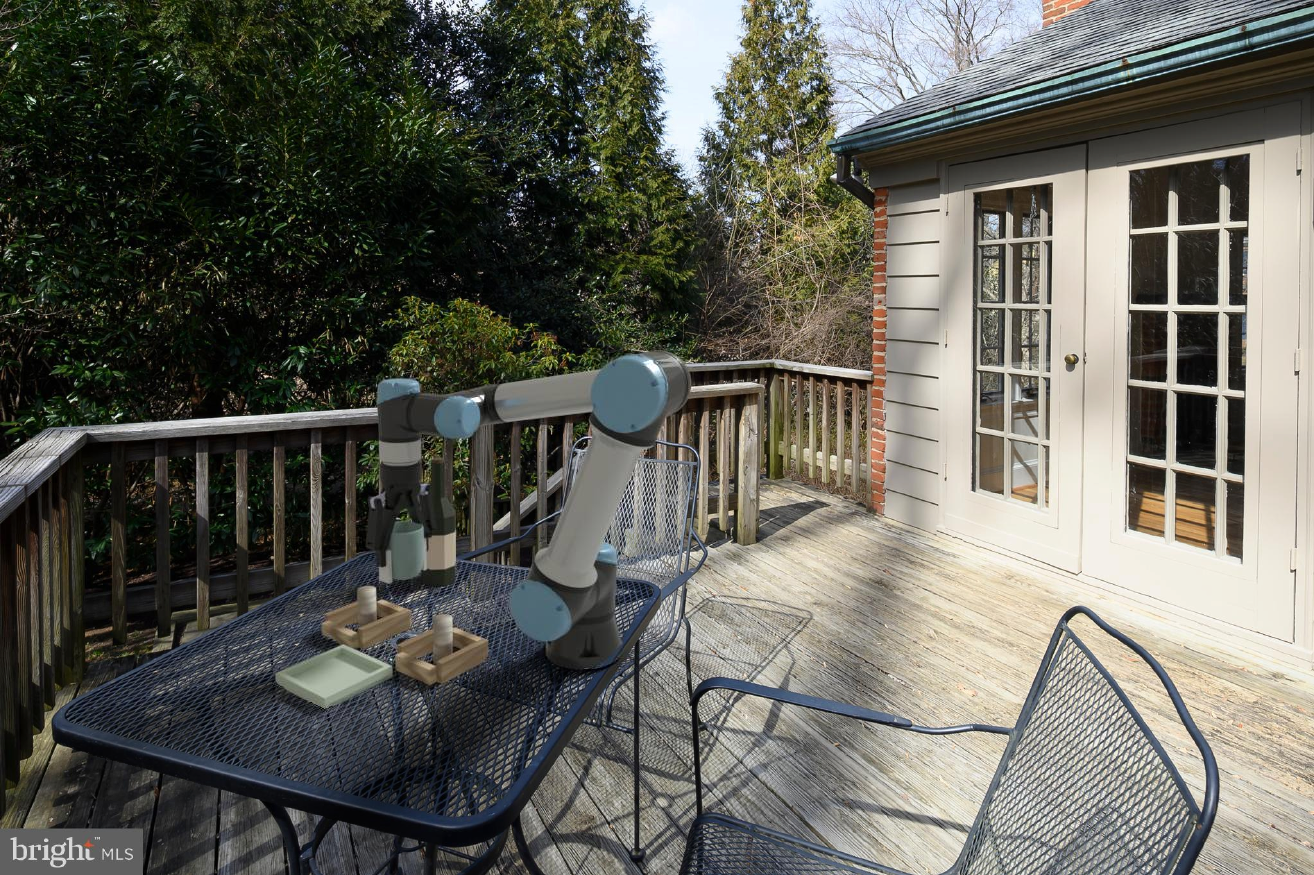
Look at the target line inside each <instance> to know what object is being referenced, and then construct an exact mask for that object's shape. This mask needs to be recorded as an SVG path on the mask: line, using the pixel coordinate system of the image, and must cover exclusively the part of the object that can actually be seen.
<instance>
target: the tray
mask: <svg viewBox="0 0 1314 875" xmlns="http://www.w3.org/2000/svg"><path fill="white" fill-rule="evenodd" d="M274 674H275V677H274V678H275V683H276V682H277V683H278V684H280V685H281V686H283V687H284V688H285V689H286V691H288V692H289V693H291V694H293V695H295V696H296V697H299V698H301V699H303V700H304V701H306V700H307V701H306V702H308V703H310V702H312V703H313V704H312V703H311V704H312V705H314V704H316V705H318V706H321V707H322V708H324V709H325V708H328V707H329V706H333V707H334V706H337V705H339V704H341V703H344V701H347V700H350V699H351V698H353V697H355V696H358V695H360V694H361V693H363V692H365V691H367V690H369V689H371V688H373V687H375V686H377V685H379V684H381V683H384V682H385V681H387V680H389V679H392V678H393V665H390V664H389V663H387V662H384V661H382V660H379V659H377V658H375V657H372V656H371V655H368V654H366V653H364V652H361V651H359V650H357V649H353V648H350V647H348V646H346V645H344V644H343V645H338V646H336V647H334V648H332V649H329V650H327V651H324V652H322V653H320V654H317V655H315V656H313V657H310V658H308V659H306V660H303V661H301V662H298V663H297V664H294V665H291V666H289V667H287V668H285V669H283V670H279V671H278V672H275V673H274ZM285 689H284V690H285ZM316 705H315V706H316ZM318 706H317V707H318ZM322 708H321V709H322ZM324 709H323V710H324Z"/></svg>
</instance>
